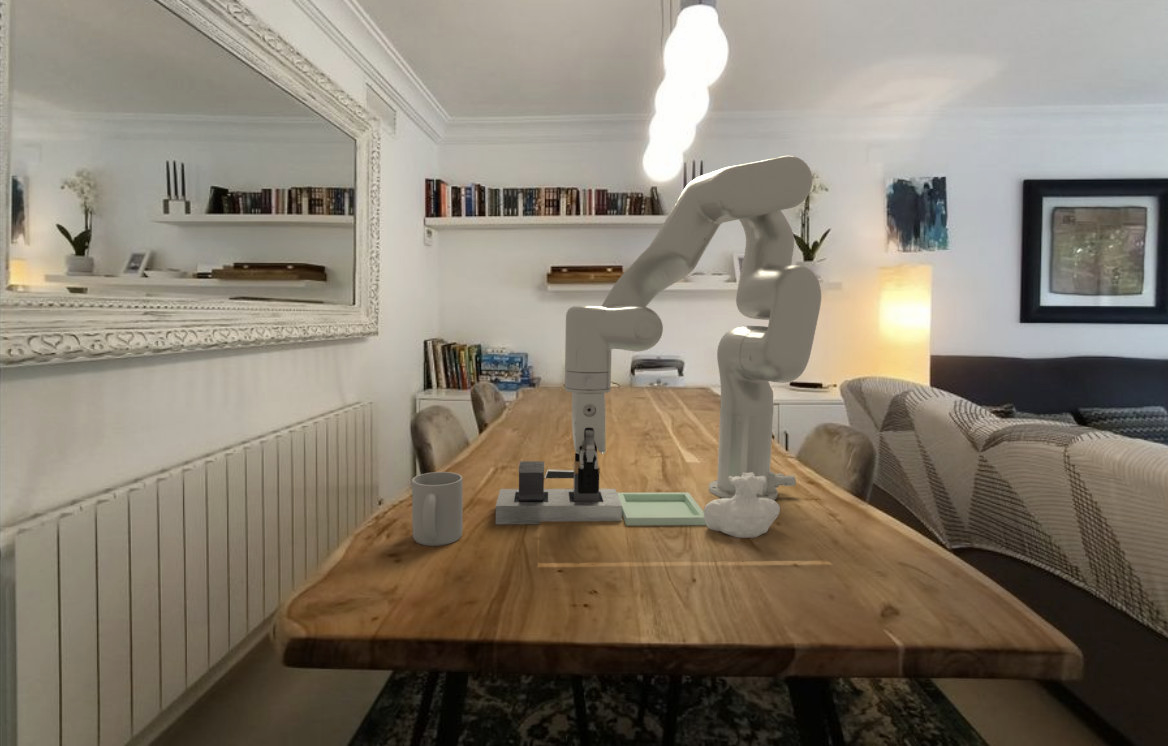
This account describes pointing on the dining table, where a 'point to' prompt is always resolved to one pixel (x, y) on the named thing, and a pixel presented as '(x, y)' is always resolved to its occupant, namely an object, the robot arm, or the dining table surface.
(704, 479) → the dining table surface
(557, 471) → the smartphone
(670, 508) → the tray
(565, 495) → the pdu strip
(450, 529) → the cup
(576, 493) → the rectangular block
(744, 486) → the white tied sack
